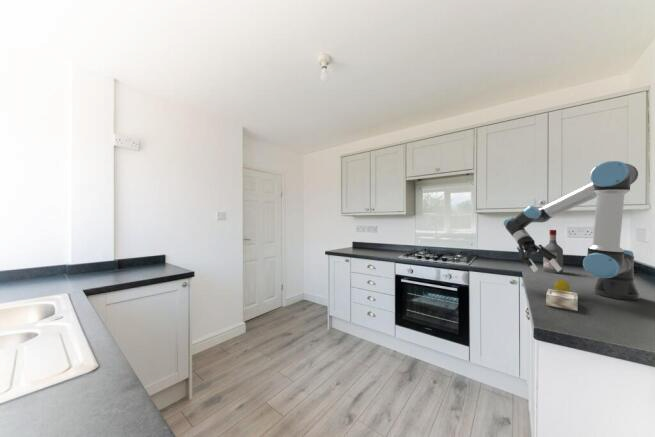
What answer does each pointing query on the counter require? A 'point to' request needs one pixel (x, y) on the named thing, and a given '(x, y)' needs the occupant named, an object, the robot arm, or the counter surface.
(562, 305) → the display riser
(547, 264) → the liquor
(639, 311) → the counter surface
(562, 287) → the lemon
